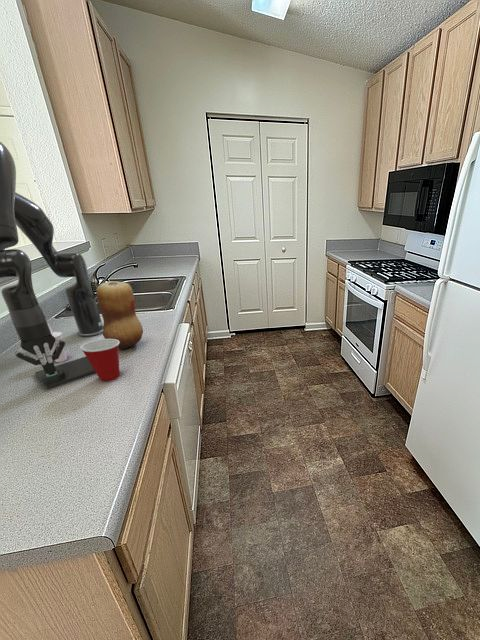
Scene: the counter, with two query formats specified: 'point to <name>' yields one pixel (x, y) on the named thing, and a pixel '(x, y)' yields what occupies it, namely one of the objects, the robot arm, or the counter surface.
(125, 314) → the butternut squash
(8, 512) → the counter surface
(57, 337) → the smoothie
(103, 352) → the plastic cup
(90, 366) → the scale
